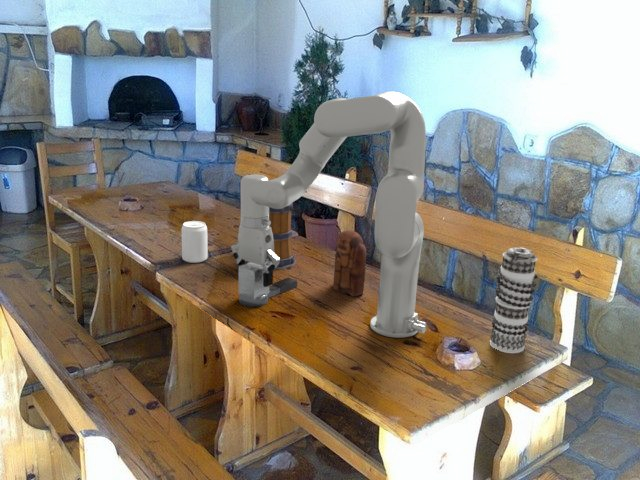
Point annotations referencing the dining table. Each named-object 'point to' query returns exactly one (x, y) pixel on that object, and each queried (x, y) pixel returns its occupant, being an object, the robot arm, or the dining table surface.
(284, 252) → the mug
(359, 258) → the wooden figurine
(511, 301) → the decorative candle
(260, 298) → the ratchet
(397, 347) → the dining table surface
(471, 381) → the dining table surface
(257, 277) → the brushed metal cube
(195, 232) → the beverage can
